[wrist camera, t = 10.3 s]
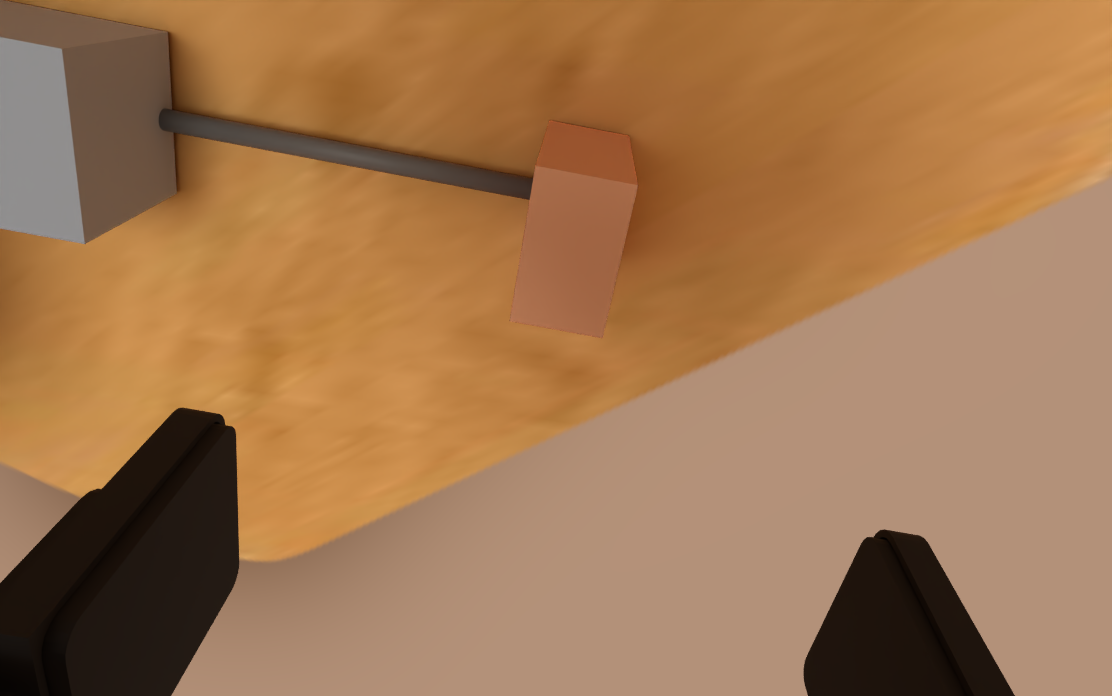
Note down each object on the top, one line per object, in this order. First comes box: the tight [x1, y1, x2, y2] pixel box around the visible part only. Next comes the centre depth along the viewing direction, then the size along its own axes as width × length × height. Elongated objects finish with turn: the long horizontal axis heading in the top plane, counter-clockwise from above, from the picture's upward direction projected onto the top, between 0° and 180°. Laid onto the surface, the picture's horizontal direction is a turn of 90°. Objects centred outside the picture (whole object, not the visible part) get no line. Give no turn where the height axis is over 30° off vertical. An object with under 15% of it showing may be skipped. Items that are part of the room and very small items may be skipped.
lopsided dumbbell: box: [0, 0, 638, 338], centre depth 25 cm, size 6×23×7 cm, turn 80°
